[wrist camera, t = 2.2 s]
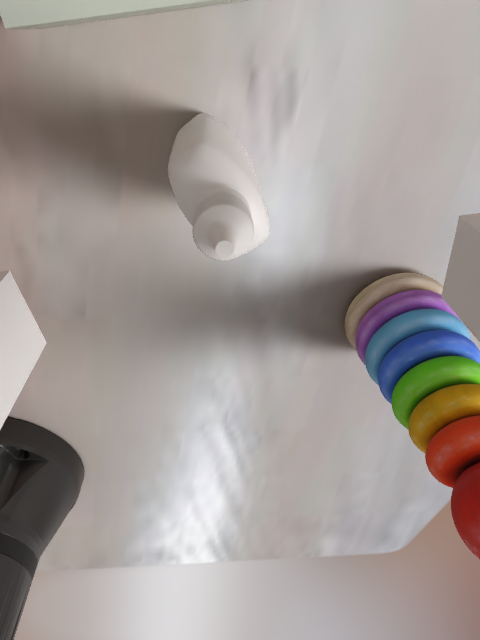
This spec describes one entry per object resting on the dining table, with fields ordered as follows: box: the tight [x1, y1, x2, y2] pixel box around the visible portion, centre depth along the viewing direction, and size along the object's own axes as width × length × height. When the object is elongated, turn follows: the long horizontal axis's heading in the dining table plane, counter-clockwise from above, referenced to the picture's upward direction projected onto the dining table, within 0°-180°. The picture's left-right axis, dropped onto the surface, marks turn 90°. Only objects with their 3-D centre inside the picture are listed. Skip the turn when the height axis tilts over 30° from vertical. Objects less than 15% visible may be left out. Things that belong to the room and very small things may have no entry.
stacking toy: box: [345, 273, 480, 559], centre depth 24 cm, size 8×8×19 cm
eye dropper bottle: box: [168, 113, 270, 260], centre depth 19 cm, size 4×6×12 cm
